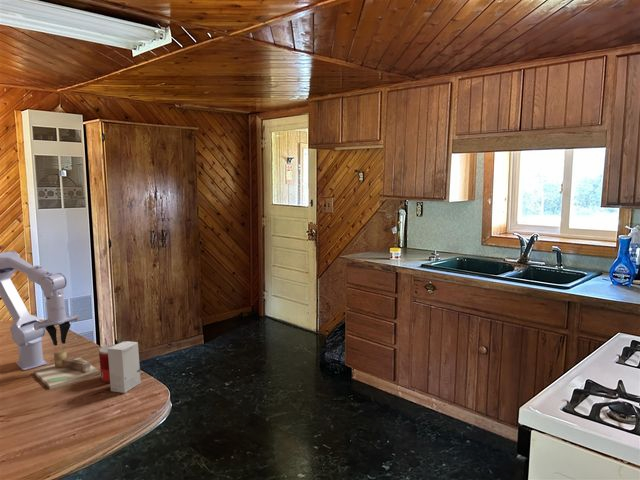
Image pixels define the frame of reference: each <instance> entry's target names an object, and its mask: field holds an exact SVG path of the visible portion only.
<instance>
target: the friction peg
mask: <svg viewBox="0 0 640 480" xmlns="http://www.w3.org/2000/svg"><path fill="white" fill-rule="evenodd" d="M67 353H68V352H67V350H65V349H64V350H63V349H62V350H57V351H55V352H54V353H53V356H54V357H53V359H54V364H55V367H56V368H62V367H64V368H69V369H74V370H79V371H83V372H87V371H89V370H91V369H90V364H91V362H90V361H86V362H84V361H79V360H74V359H75V358H68V354H67Z"/></svg>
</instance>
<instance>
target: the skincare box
mask: <svg viewBox="0 0 640 480" xmlns="http://www.w3.org/2000/svg"><path fill="white" fill-rule="evenodd" d="M108 359H109V372H110V383H109V384H110V391H111V392H116V393H119V394H126V393H128V392H129V391H130V390H132V389H134V388H135V387H136V386H139V385H140V384H141V382H142V381H141V367H140V354H139V342H138V341H128V340H127V341H125V340H124V341H121V342H120V343H116V345H115V346H113V347H111V348H108Z"/></svg>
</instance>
